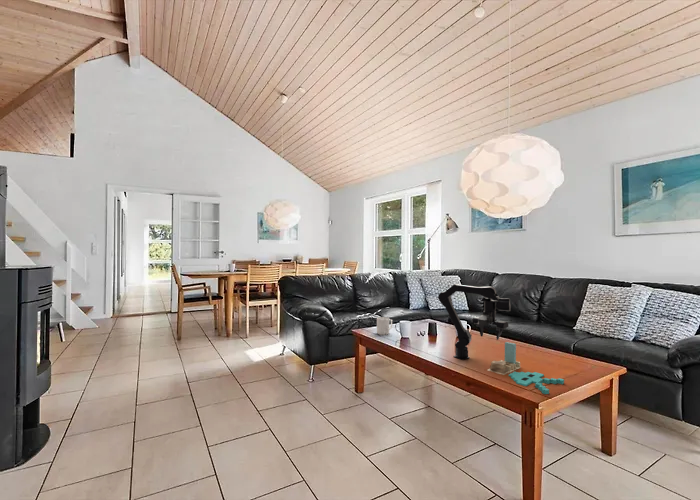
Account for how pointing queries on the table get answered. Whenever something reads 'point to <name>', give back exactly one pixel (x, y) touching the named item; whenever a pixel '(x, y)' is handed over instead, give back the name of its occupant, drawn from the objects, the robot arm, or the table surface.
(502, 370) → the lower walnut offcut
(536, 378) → the alien figure
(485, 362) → the table surface
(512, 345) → the teal panel
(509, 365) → the birch rack
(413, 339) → the table surface
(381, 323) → the mug
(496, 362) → the upper oak offcut
